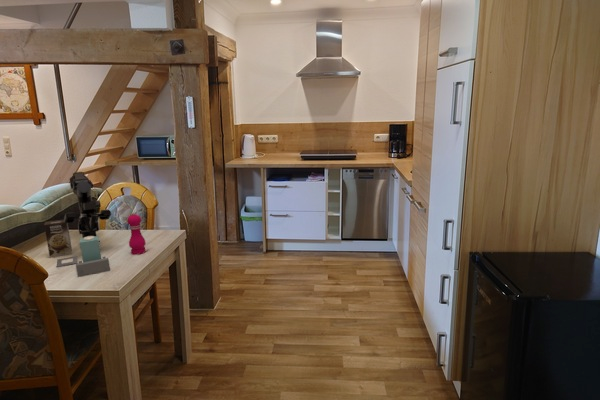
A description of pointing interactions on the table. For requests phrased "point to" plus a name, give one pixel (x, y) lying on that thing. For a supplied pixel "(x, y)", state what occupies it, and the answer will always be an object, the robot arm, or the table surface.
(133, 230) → the pepper mill
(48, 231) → the cookie box
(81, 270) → the gray support stand
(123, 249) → the table surface
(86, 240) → the teal tall block
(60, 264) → the card
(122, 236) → the table surface
